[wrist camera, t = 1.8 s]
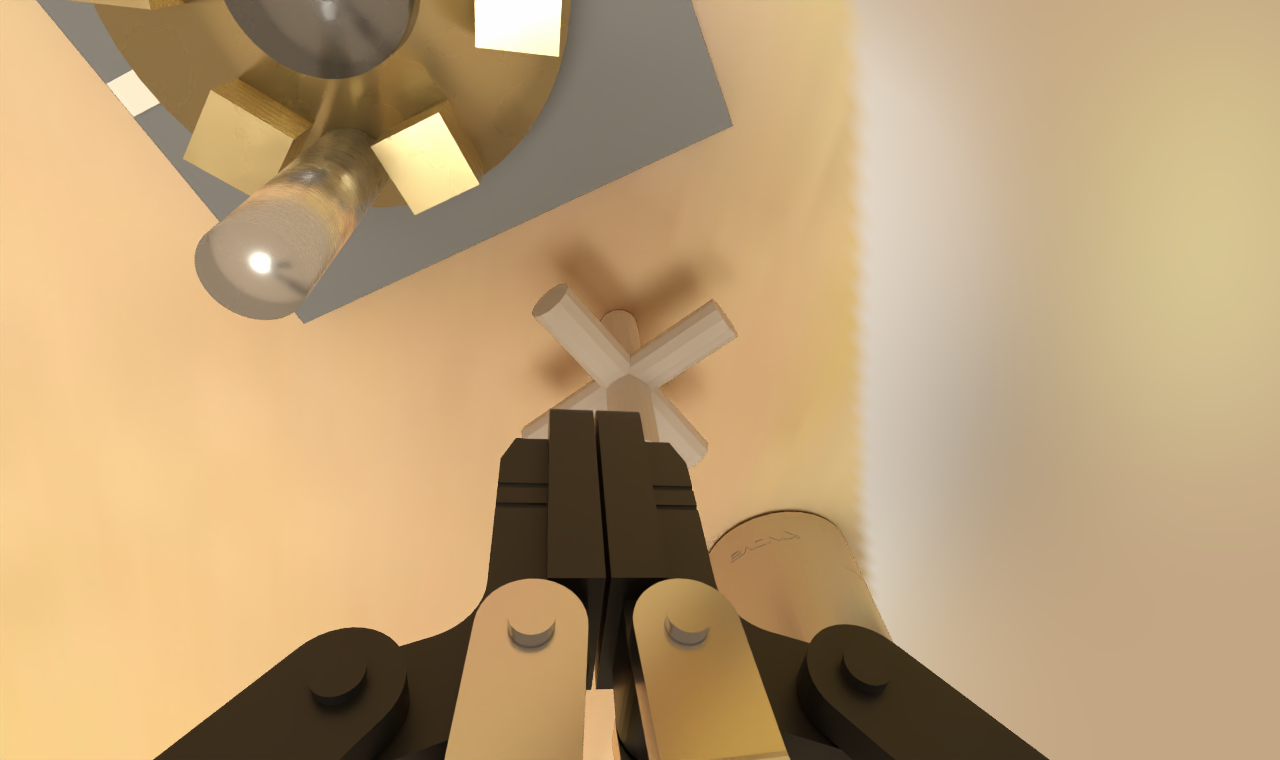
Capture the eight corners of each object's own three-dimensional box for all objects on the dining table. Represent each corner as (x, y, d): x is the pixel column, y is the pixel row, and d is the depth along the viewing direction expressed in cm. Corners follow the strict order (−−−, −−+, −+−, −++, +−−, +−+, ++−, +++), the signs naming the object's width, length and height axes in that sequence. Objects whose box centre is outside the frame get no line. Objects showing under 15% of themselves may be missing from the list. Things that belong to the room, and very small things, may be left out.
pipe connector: (468, 312, 32) (436, 446, 23) (640, 182, 29) (673, 280, 21) (600, 441, 37) (611, 590, 28) (757, 339, 34) (820, 470, 26)
